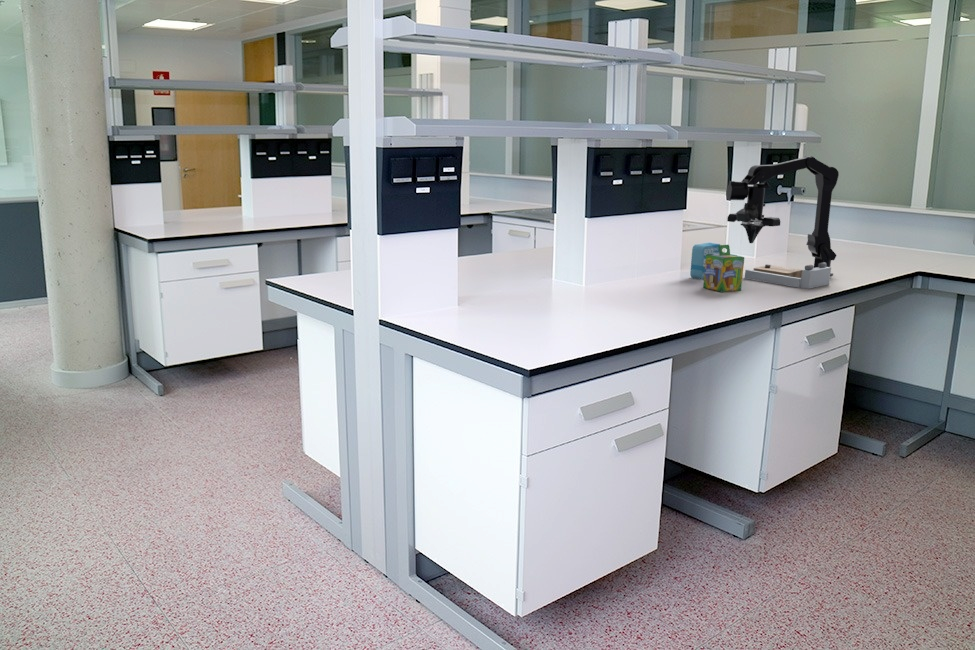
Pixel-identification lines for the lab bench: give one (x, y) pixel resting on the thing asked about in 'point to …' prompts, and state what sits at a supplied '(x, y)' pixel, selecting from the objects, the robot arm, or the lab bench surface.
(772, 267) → the door panel
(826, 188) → the robot arm
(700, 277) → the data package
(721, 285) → the chalk box
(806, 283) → the block
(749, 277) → the guide rail
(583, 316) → the lab bench surface
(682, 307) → the lab bench surface
